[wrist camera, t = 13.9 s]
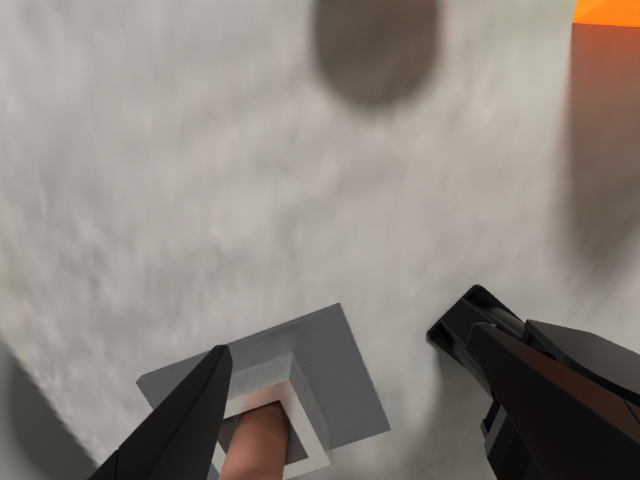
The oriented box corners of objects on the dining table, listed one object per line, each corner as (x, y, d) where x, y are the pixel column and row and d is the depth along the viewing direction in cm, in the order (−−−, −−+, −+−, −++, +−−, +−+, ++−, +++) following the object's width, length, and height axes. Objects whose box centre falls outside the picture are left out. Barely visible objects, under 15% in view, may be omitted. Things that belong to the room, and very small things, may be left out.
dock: (339, 302, 22) (344, 327, 18) (388, 422, 24) (402, 466, 20) (141, 375, 23) (105, 414, 19) (209, 481, 25) (189, 534, 22)
